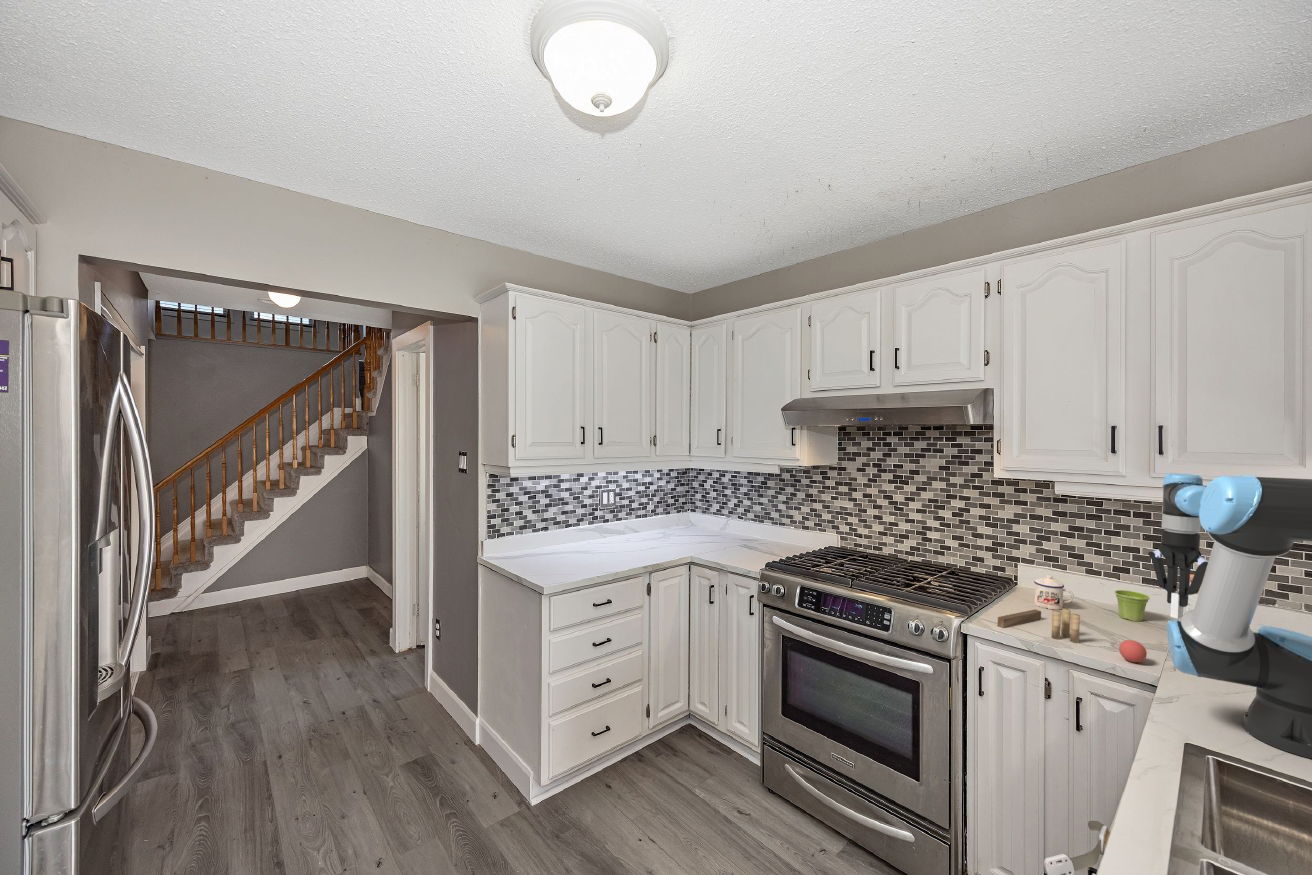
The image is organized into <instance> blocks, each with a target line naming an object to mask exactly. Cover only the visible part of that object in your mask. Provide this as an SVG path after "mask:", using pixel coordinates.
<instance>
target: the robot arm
mask: <svg viewBox="0 0 1312 875" xmlns="http://www.w3.org/2000/svg"><path fill="white" fill-rule="evenodd" d="M1163 477H1164V479H1163V484H1162V487H1163V488H1162V489H1163V490H1162V513H1161V515H1162V517H1161V528H1162V530H1161V532H1160V537H1161V538H1160V542H1161V544H1160V546H1158V549H1157V550H1152V551H1149V552H1147V554H1148V556H1149V558H1150V559H1151V561H1152V565H1153V568H1154V572H1155V577H1156V581H1157V584H1158V587H1159V588H1161V589H1163V590H1166V592H1167V593H1166V595H1167V596H1166V602H1167V604H1170V617H1171V618H1174V619H1175V620H1168V621H1167V623H1166V634H1167V635H1166V636H1167V644H1168V650H1169V653H1170V659H1171V661H1172V664H1173V666H1174V667H1175V669H1176V670H1177V671H1179V672H1181V673H1183V674H1187V675H1191V676H1195V677H1197V678H1205V679H1209V680H1216V681H1221V682H1227V683H1231V684H1238V685H1242V686H1247V687H1252V688H1253V687H1254V688H1256V690H1255V697H1254V698H1253V699H1252V702H1251V703H1250V705H1249V706H1248V709H1247V711H1246V712H1245V713H1244V714H1243V718H1242V727H1244V728H1243V729H1244V731H1245V732H1247V733H1248V732H1249V733H1248V734H1249V735H1250V734H1251V735H1250V736H1251V737H1253V738H1255V739H1257V740H1259V741H1261V742H1262V743H1264V744H1266V745H1269V746H1272V747H1274V748H1276V749H1278V750H1282V751H1284V752H1288V753H1290V754H1293V755H1297V756H1300V757H1303V758H1308V759H1312V636H1309V635H1308V634H1307V635H1306V634H1303V633H1301V632H1297V631H1293V630H1289V629H1286V628H1281V627H1275V626H1269V625H1267V626H1266V625H1265V626H1263V625H1262V626H1260V627H1259V628H1258V629H1257V632H1253V630H1252V629H1251V626H1250V625H1251V624H1252V620H1253V618H1254V616H1255V613H1256V610H1257V607H1258V605H1259V603H1260V599H1261V597H1262V594H1263V591H1264V589H1265V586H1266V584H1267V581H1268V578H1269V576H1270V572H1271V571H1272V570H1271V569H1273V568H1272V567H1273V565H1274V562H1275V559H1276V557H1280V556H1284V555H1286V554H1288V553H1289V552H1290V551H1291V550H1292V548H1293V546H1294V544H1295V542H1296V541H1299V542H1300V541H1302V542H1312V478H1297V477H1296V478H1293V477H1292V478H1291V477H1272V476H1271V477H1270V476H1268V477H1266V476H1264V477H1263V476H1254V475H1250V474H1243V475H1222V476H1219V477H1215V478H1214V479H1212V480H1211V481H1210V482H1209V483H1208V484H1207V485H1204V483H1203V477H1202V476H1201V475H1199V474H1191V473H1172V472H1171V473H1167V474H1165V475H1164V476H1163ZM1201 527H1202V528H1203V530H1205V531H1206V532H1207V534H1208V536H1209V537H1210V538H1211V539H1212V540H1213V541H1214V543H1213V545H1212V548H1211V550H1210V551H1211V552H1210V555H1209V560H1207V559H1206V558H1204V557H1203V556H1202V553H1201V550H1200V547H1201V546H1200V545H1201V543H1200V542H1201V534H1199V532H1201ZM1163 558H1164V559H1165V561H1166V567H1167V573H1166V570H1165V565H1164V561H1163ZM1195 562H1197V568H1196V570H1195V572H1194V573H1193V575H1194V577H1193V579H1192V582H1191V584H1190V574H1191V569H1192V565H1193V564H1195ZM1178 570H1179V571H1178ZM1178 572H1179V575H1178ZM1178 576H1179V577H1178ZM1178 579H1179V582H1178ZM1178 583H1179V584H1178ZM1201 584H1202V585H1201ZM1178 585H1179V586H1178ZM1200 587H1201V588H1200ZM1199 589H1200V592H1199ZM1198 592H1199V595H1198V598H1197V602H1196V605H1195V608H1194V610H1191V611H1188V612H1186V611H1185V613H1184V608H1186V606H1187V605H1188V595H1193V594H1197V593H1198ZM1178 619H1180V620H1178ZM1249 626H1250V628H1249Z"/></svg>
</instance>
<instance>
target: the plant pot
mask: <svg viewBox="0 0 1312 875" xmlns="http://www.w3.org/2000/svg"><path fill="white" fill-rule="evenodd" d="M1114 594H1115V597H1116V599H1117V606H1118V615H1119V618H1121V619H1123V618H1124V620H1129V621H1131V620H1132V622H1141V621H1143V619H1144V615H1145V610H1146V606H1147V603H1148V601H1149V600H1150V599H1151V598H1150V595H1147V594H1145V593H1142V592H1137V591H1132V590H1125V589H1124V590H1123V589H1121V590H1120V589H1118V590H1115V591H1114Z"/></svg>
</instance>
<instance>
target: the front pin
mask: <svg viewBox="0 0 1312 875" xmlns="http://www.w3.org/2000/svg"><path fill="white" fill-rule="evenodd" d="M1080 622H1081V615H1080V614H1078V613H1070V637H1069V641H1070V642H1071V643H1075V644H1079V643H1080V627H1081V626H1080Z"/></svg>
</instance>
